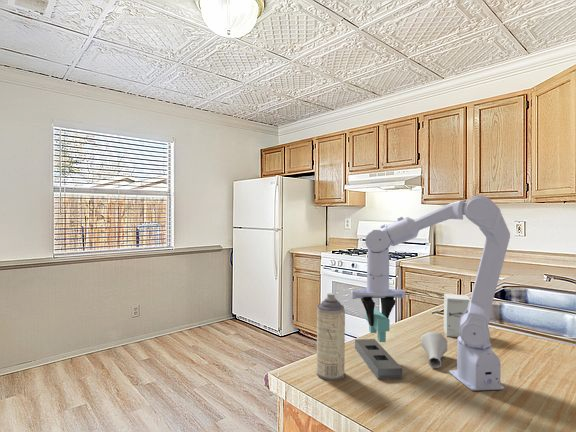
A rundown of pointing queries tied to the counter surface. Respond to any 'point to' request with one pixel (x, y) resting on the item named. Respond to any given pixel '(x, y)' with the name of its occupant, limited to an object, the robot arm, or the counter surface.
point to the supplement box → (454, 313)
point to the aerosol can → (330, 339)
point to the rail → (378, 359)
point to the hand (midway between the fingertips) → (377, 324)
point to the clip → (379, 325)
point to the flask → (434, 347)
